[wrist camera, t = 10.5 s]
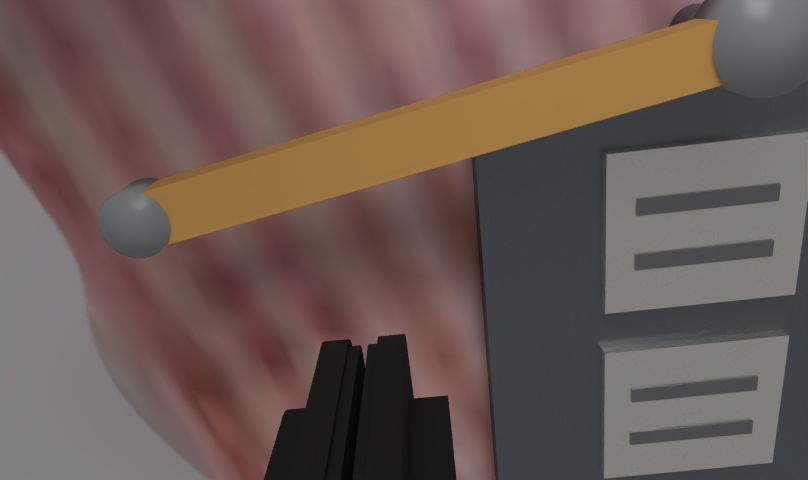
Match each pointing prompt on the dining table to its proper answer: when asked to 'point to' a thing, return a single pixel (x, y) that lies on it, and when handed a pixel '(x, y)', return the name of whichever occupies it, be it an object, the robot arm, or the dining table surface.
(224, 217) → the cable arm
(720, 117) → the label base
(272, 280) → the dining table surface
